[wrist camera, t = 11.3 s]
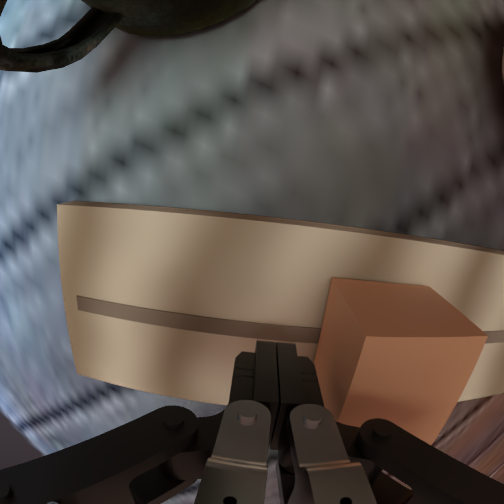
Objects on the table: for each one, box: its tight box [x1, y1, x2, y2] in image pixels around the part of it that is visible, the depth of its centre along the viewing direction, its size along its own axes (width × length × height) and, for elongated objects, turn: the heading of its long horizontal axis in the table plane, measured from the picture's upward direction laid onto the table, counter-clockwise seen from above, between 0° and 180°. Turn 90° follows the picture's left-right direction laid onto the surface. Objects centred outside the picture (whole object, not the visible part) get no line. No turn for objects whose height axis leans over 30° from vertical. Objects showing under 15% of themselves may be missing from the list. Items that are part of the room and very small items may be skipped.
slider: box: [314, 278, 488, 445], centre depth 11 cm, size 5×6×5 cm
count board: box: [57, 201, 504, 405], centre depth 15 cm, size 30×10×2 cm, turn 84°
